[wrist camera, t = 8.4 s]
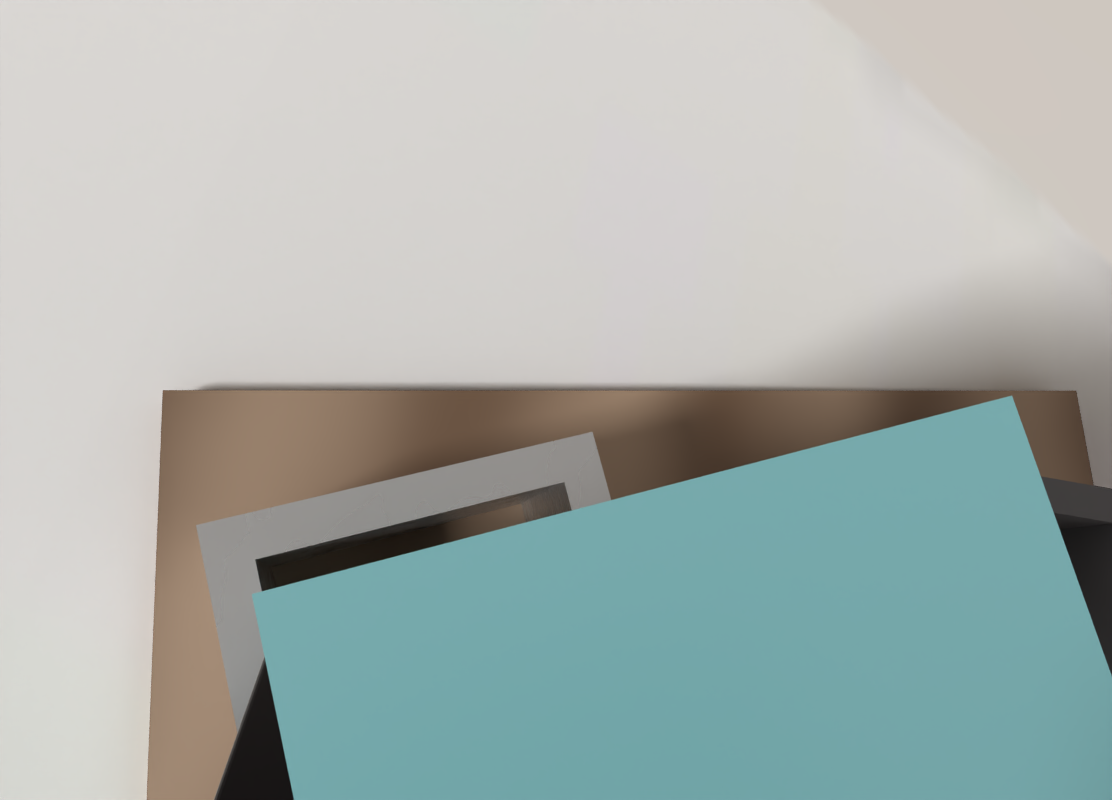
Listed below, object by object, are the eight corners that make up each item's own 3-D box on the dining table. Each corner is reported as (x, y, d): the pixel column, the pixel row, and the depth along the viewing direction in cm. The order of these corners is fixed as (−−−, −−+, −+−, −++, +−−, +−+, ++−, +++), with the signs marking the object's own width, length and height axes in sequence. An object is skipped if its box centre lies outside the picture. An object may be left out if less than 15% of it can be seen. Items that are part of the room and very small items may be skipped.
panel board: (1054, 396, 25) (1076, 390, 25) (1133, 840, 23) (1160, 848, 22) (169, 398, 19) (162, 390, 19) (146, 997, 17) (138, 1016, 16)
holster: (1054, 774, 22) (1162, 800, 19) (811, 752, 20) (888, 777, 18) (1047, 507, 24) (1145, 494, 21) (822, 469, 22) (893, 450, 19)
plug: (597, 762, 15) (1318, 1211, 4) (362, 845, 14) (470, 1802, 3) (537, 532, 16) (1018, 374, 5) (308, 594, 15) (222, 577, 4)
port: (626, 774, 19) (698, 817, 16) (297, 894, 17) (286, 977, 13) (544, 462, 20) (592, 431, 17) (224, 539, 18) (195, 525, 15)
